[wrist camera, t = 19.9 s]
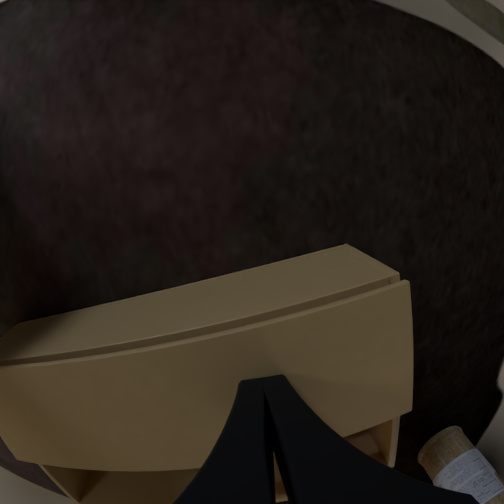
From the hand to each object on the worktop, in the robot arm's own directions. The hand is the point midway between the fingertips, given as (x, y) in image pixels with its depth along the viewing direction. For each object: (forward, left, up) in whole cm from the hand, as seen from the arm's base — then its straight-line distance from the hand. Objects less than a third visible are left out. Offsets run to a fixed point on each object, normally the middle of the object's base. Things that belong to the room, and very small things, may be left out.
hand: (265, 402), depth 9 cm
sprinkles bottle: (+16, +12, -6) cm, 21 cm away
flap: (0, -4, 0) cm, 4 cm away
